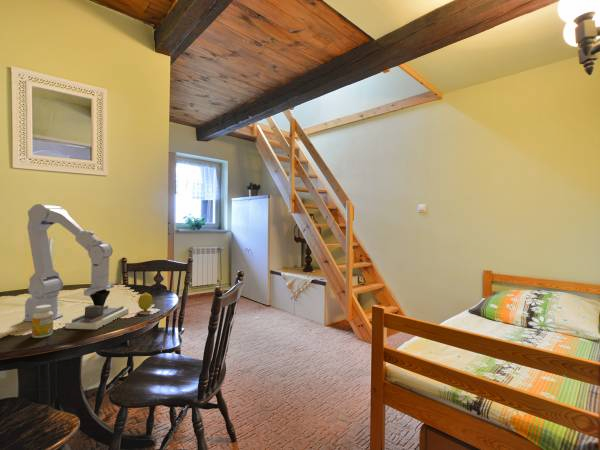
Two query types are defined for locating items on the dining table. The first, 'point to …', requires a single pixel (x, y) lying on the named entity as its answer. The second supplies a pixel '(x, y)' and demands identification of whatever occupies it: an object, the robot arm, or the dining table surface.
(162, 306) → the dining table surface
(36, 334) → the supplement bottle
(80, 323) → the fader console
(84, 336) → the dining table surface
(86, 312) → the fader knob
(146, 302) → the yellow oval piece
